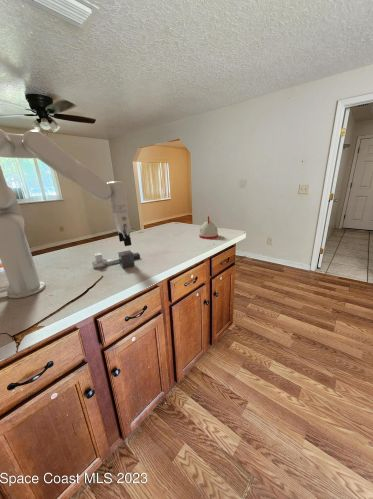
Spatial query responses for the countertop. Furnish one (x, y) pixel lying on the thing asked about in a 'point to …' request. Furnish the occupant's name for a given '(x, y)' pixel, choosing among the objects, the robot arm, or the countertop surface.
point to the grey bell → (208, 230)
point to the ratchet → (103, 262)
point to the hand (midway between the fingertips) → (125, 243)
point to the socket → (126, 259)
